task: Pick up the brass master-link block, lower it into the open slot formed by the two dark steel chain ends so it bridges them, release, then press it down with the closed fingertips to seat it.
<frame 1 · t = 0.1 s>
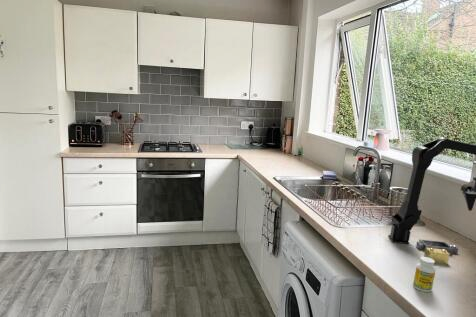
chain ends: (434, 249, 144), on the worktop
supplement bottle: (421, 288, 113), on the worktop
master link: (435, 260, 134), on the worktop
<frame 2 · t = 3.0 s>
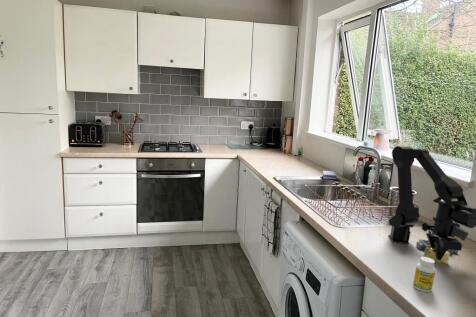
hand: (436, 257, 134), 1 cm above the worktop, fingers closed on master link, 3 cm apart
master link: (435, 260, 134), on the worktop, touching gripper
everything else where it was.
when the fingers open (3 cm above the worktop, at t = 6.4 s): master link drops 2 cm, resting in chain ends.
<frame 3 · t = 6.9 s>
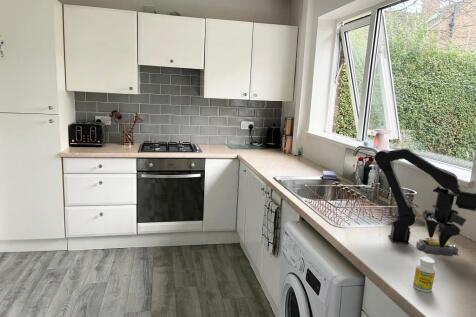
hand: (436, 242, 143), 3 cm above the worktop, fingers open, 9 cm apart
master link: (434, 250, 144), resting in chain ends
everything else where it was.
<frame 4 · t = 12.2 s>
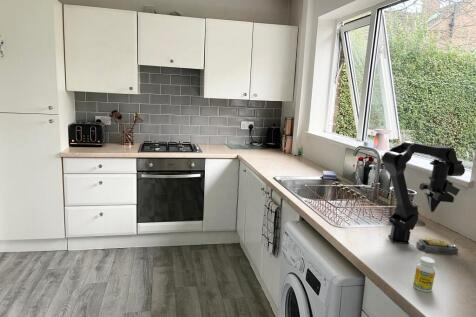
hand: (431, 211, 153), 12 cm above the worktop, fingers closed
nothing on the worktop moved.
at the end: master link 0.0 cm off-centre on the chain ends, point 0.0 cm above the chain ends's base; the gripper is holding nothing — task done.
